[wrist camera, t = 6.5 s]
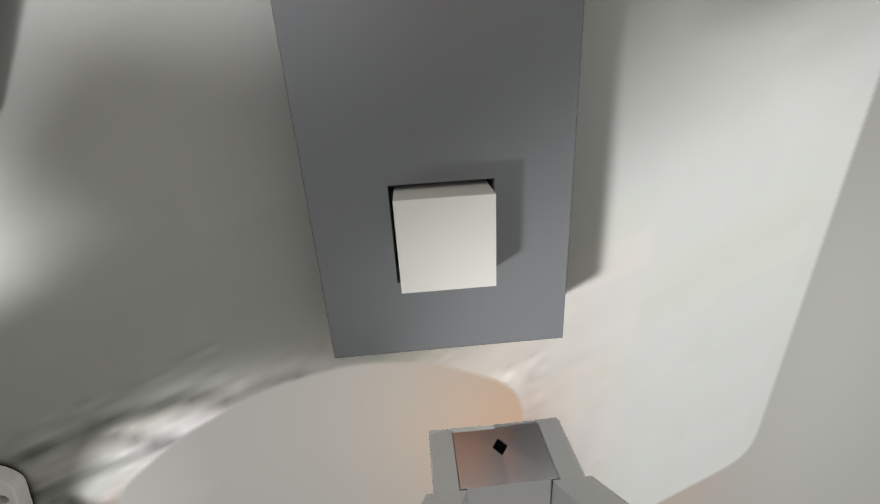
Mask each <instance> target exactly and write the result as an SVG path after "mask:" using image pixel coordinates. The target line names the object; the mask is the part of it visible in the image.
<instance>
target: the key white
mask: <svg viewBox="0 0 880 504" xmlns="http://www.w3.org/2000/svg"><path fill="white" fill-rule="evenodd" d="M393 211H394V221H395V231H396V241H397V251H398V261H399V271H400V280H401V290H402V294H404V293H416V292H428V291H440V290H452V289H464V288H476V287H488V286H496V193H495V192H494V190H493V189H492V188H491V187H490V185H489V184H488V183H487V181H486V180H485V179H477V180H464V181H450V182H436V183H422V184H408V185H394V192H393Z"/></svg>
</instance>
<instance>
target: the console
mask: <svg viewBox="0 0 880 504" xmlns="http://www.w3.org/2000/svg"><path fill="white" fill-rule="evenodd" d="M271 6H272V11H273V17H274V22H275V28H276V34H277V39H278V45H279V50H280V56H281V61H282V67H283V72H284V78H285V83H286V89H287V94H288V100H289V106H290V111H291V117H292V122H293V128H294V133H295V139H296V144H297V150H298V155H299V161H300V166H301V172H302V177H303V183H304V189H305V194H306V200H307V205H308V211H309V216H310V222H311V227H312V233H313V238H314V244H315V249H316V255H317V261H318V266H319V272H320V277H321V283H322V288H323V294H324V299H325V305H326V310H327V316H328V321H329V327H330V333H331V338H332V344H333V349H334V355H335V358H342V357H353V356H364V355H375V354H386V353H397V352H408V351H419V350H430V349H441V348H452V347H464V346H475V345H486V344H497V343H508V342H519V341H530V340H541V339H552V338H562V337H563V321H564V306H565V290H566V275H567V260H568V244H569V229H570V213H571V198H572V182H573V167H574V152H575V136H576V121H577V105H578V90H579V74H580V59H581V44H582V28H583V13H584V0H271ZM477 179H485V180H486V181H487V183H488V184H489V185H490V187H491V188H492V189H493V190H494V192H495V193H496V286H488V287H476V288H464V289H452V290H440V291H428V292H416V293H404V294H402V290H401V280H400V271H399V261H398V251H397V241H396V231H395V221H394V211H393V192H394V185H408V184H422V183H436V182H450V181H464V180H477Z"/></svg>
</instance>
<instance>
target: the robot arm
mask: <svg viewBox="0 0 880 504" xmlns="http://www.w3.org/2000/svg"><path fill="white" fill-rule="evenodd" d="M429 441H430V455H431V468H432V482H433V494H428V495H426V497H425V498H424V500H423V502H422V503H421V504H629V503H628V502H626V501H625V500H624V499H622V498H621V497H620V496H618V495H617V494H616V493H614V492H613V491H612V490H610V489H609V488H608V487H606V486H605V485H604V484H602V483H601V482H600V481H598V480H597V479H595V478H594V477H593V476H586V477H585V474H584V472H583V470H582V468H581V466H580V464H579V462H578V460H577V457H576V455H575V453H574V451H573V449H572V447H571V445H570V442H569V440H568V438H567V436H566V434H565V432H564V430H563V427H562V425H561V423H560V421H559V420H558V419H557V418H549V419H540V420H535V421H534V420H532V421H523V422H514V423H507V424H497V425H491V426H477V427H466V428H453V429H446V430H432V431H430V432H429ZM0 504H33V502H32V499H31V495H30V492H29V489H28V485H27V482H26V480H25V478H24V477H23V475H22V474H20V473H19V472H17V471H15V470H13V469H10V468H8V467H5V466H1V465H0Z"/></svg>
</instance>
